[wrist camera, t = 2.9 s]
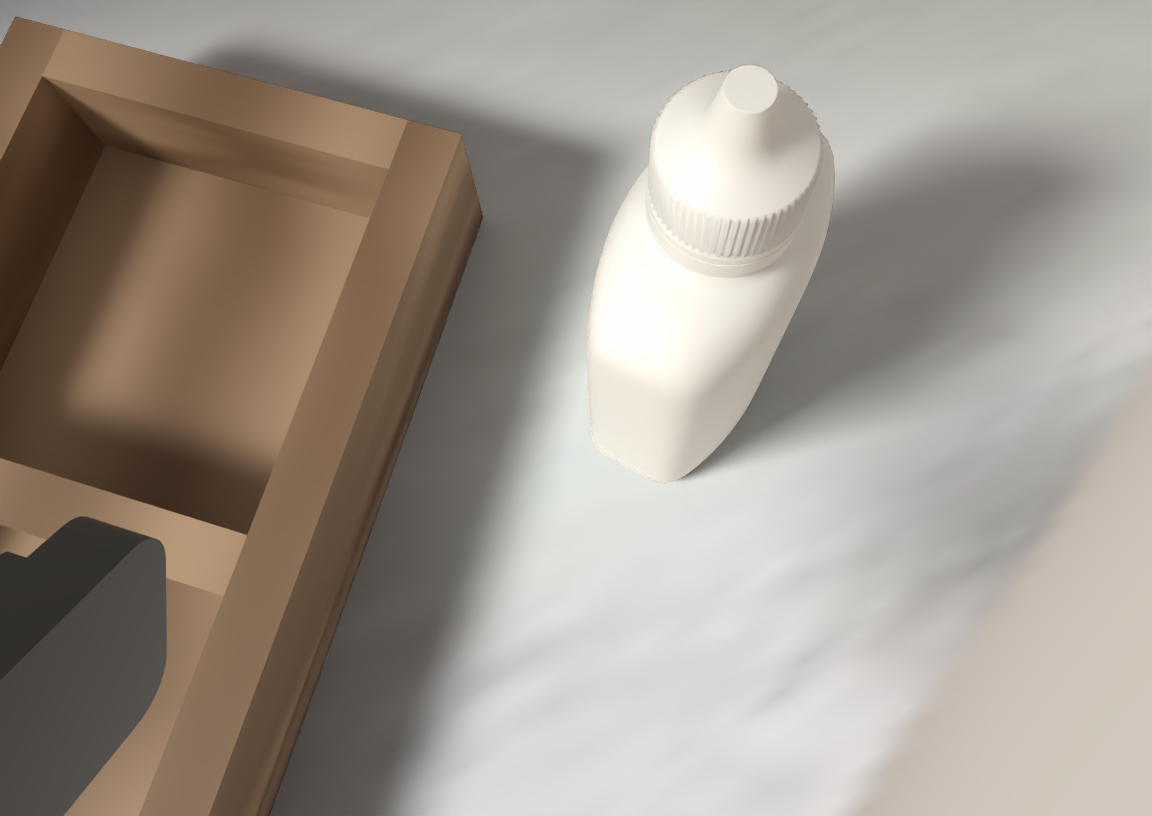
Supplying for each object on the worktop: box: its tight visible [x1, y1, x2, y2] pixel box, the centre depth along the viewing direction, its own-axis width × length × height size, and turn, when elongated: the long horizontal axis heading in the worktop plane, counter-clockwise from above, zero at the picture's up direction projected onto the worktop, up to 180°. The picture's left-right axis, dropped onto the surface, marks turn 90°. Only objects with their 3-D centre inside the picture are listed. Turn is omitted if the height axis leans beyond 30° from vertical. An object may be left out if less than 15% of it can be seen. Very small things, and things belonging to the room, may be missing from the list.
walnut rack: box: [0, 16, 483, 816], centre depth 21 cm, size 11×29×4 cm, turn 163°
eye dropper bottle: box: [587, 65, 835, 484], centre depth 19 cm, size 4×6×12 cm
